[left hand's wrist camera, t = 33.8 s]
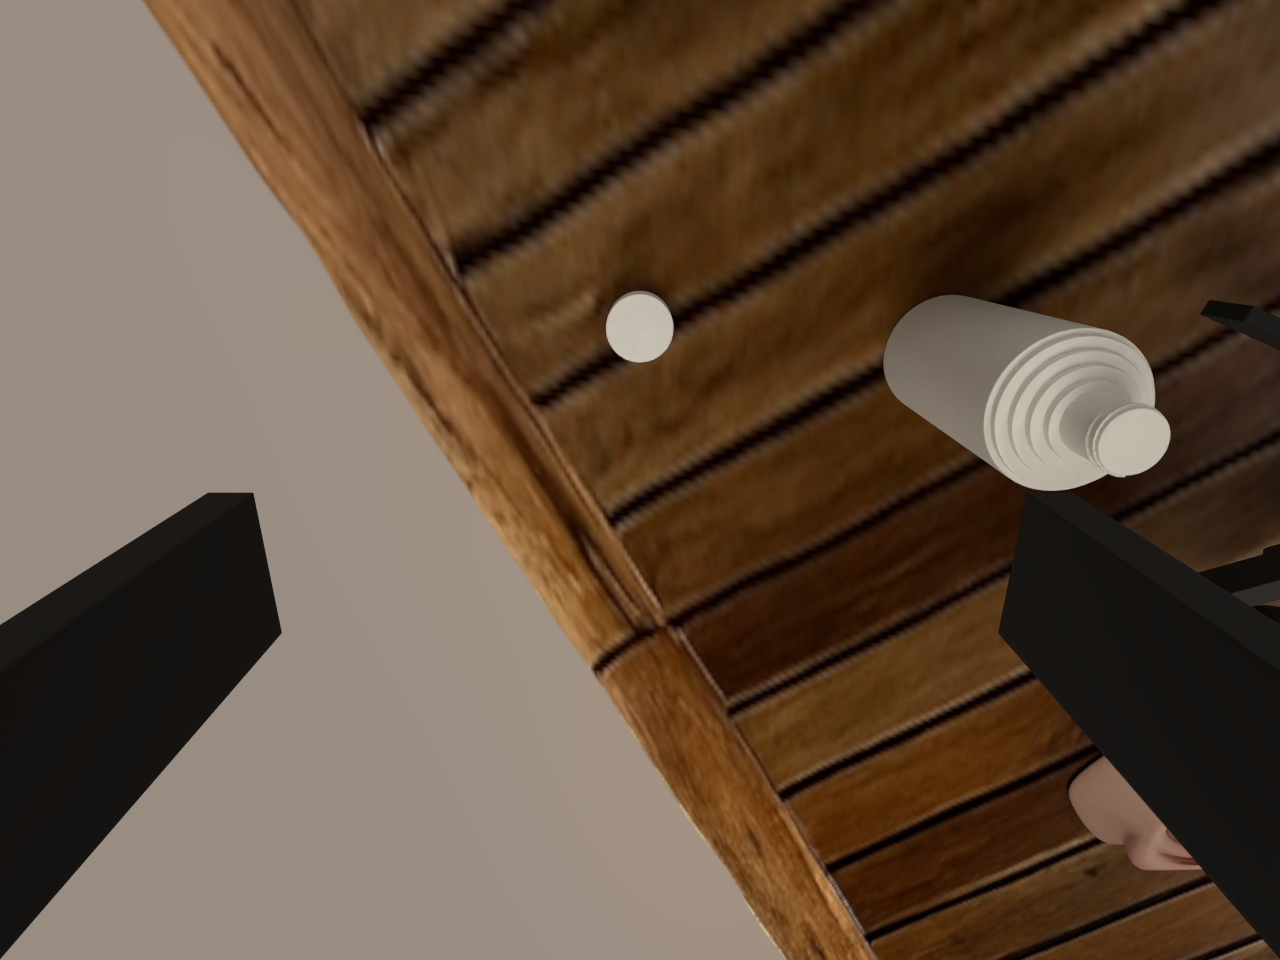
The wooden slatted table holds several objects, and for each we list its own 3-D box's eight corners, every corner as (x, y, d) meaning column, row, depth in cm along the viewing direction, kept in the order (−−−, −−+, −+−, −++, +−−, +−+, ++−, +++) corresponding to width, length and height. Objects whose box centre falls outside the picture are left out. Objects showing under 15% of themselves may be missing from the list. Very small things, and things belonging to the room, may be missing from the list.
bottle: (898, 288, 40) (1070, 335, 24) (1017, 301, 40) (1267, 355, 24) (872, 407, 42) (1012, 522, 26) (985, 418, 43) (1193, 539, 27)
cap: (607, 355, 41) (605, 361, 39) (607, 290, 40) (606, 293, 38) (671, 356, 41) (672, 362, 40) (673, 291, 40) (674, 294, 38)
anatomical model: (1072, 855, 49) (1192, 737, 46) (1041, 810, 53) (1150, 698, 49) (1213, 922, 51) (1337, 815, 48) (1174, 874, 55) (1287, 772, 52)
